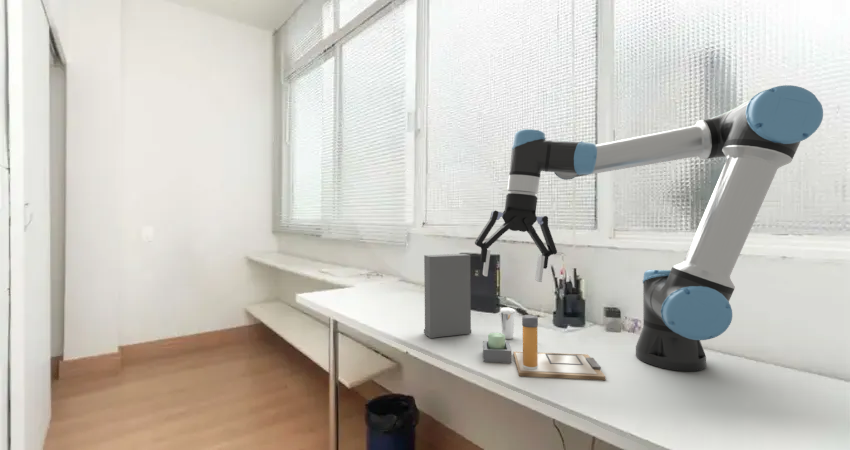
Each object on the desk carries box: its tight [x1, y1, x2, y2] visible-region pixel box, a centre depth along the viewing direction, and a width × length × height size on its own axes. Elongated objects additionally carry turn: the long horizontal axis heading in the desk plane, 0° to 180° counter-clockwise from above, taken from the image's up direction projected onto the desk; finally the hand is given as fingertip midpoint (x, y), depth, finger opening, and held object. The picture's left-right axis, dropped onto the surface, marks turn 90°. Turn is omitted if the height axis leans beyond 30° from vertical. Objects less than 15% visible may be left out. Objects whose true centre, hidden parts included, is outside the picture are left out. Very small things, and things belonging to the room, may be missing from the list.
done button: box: [487, 332, 506, 349], centre depth 101 cm, size 4×4×4 cm
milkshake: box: [499, 305, 519, 340], centre depth 117 cm, size 4×5×10 cm
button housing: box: [482, 340, 512, 364], centre depth 101 cm, size 7×7×3 cm
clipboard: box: [513, 351, 606, 381], centre depth 94 cm, size 19×14×1 cm
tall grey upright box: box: [423, 253, 472, 339], centre depth 121 cm, size 14×6×25 cm, turn 108°
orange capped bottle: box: [521, 314, 539, 370], centre depth 92 cm, size 4×4×12 cm
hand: (511, 278), depth 96 cm, fingers open, 13 cm apart
